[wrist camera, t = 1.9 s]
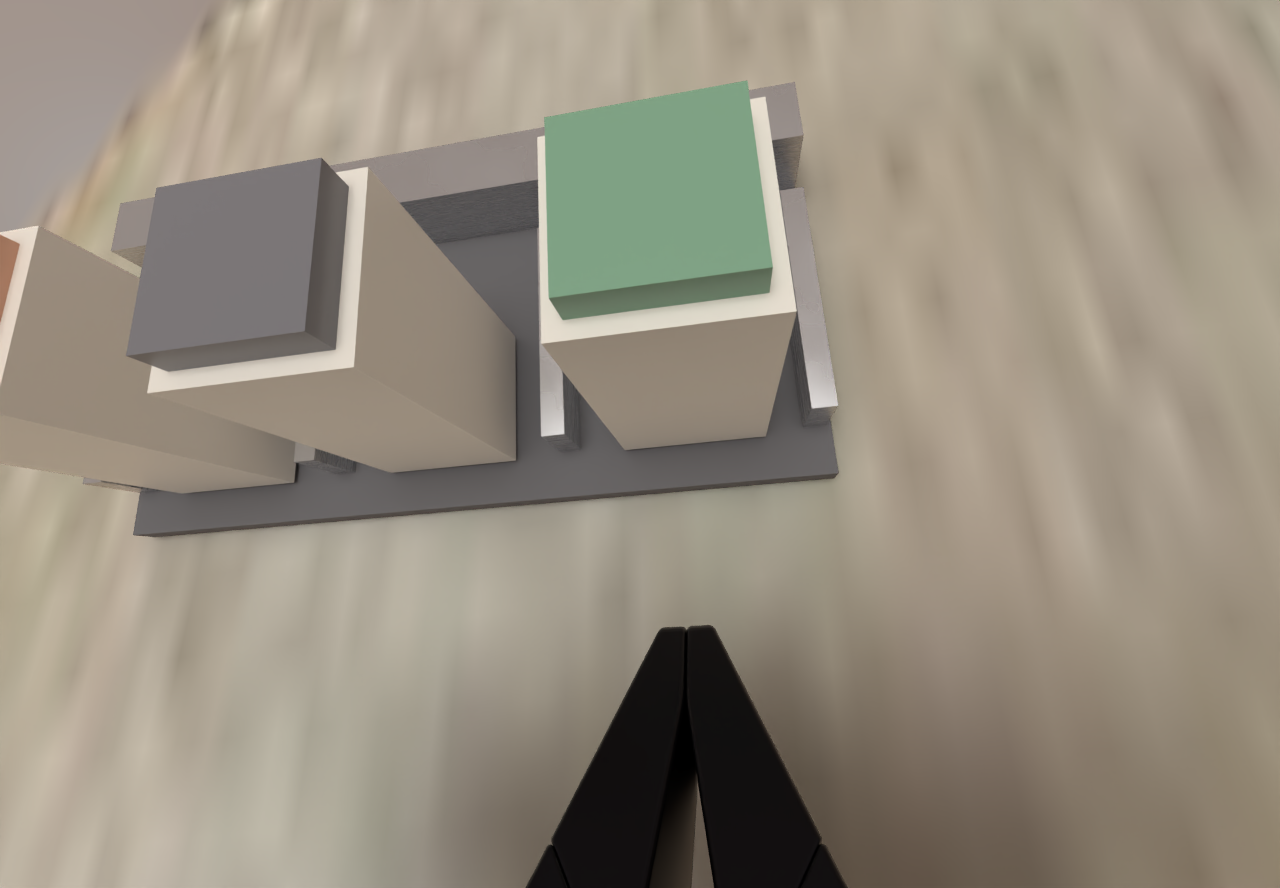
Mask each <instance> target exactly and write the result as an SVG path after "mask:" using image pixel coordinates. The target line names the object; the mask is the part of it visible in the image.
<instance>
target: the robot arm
mask: <svg viewBox="0 0 1280 888" xmlns="http://www.w3.org/2000/svg"><path fill="white" fill-rule="evenodd" d="M697 784H698V786H699V792H700V799H701V805H702V812H703V818H704V824H705V831H706V837H707V844H708V850H709V857H710V863H711V870H712V876H713V883H714V888H848V887H847V885H846V884H845V882H844V880H843V878H842V876H841V874H840V872H839V870H838V868H837V866H836V864H835V862H834V860H833V858H832V857H831V855H830V853H829V851H828V849H827V847H826V845H824V844H822V838H821V836H820V834H819V832H818V830H817V828H816V826H815V824H814V822H813V820H812V818H811V816H810V814H809V812H808V810H807V808H806V806H805V804H804V802H803V800H802V798H801V796H800V794H799V792H798V791H797V789H796V787H795V785H794V783H793V781H792V779H791V777H790V775H789V773H788V771H787V769H786V767H785V765H784V763H783V761H782V759H781V757H780V755H779V753H778V751H777V749H776V747H775V745H774V743H773V741H772V739H771V738H770V736H769V734H768V732H767V730H766V728H765V726H764V724H763V722H762V720H761V718H760V716H759V714H758V712H757V710H756V708H755V706H754V704H753V702H752V700H751V698H750V696H749V694H748V692H747V690H746V688H745V686H744V685H743V683H742V681H741V679H740V677H739V675H738V673H737V671H736V669H735V667H734V665H733V663H732V661H731V659H730V657H729V655H728V653H727V651H726V649H725V647H724V645H723V643H722V641H721V639H720V637H719V635H718V633H717V632H716V630H715V628H714V627H713V626H711V625H702V626H690V627H689V628H688V629H687V630H686V628H684V627H665V628H662V629H660V630H659V632H658V633H657V635H656V637H655V639H654V641H653V643H652V645H651V647H650V648H649V650H648V652H647V654H646V656H645V658H644V660H643V662H642V664H641V666H640V668H639V670H638V672H637V674H636V676H635V678H634V679H633V681H632V683H631V685H630V687H629V689H628V691H627V693H626V695H625V697H624V699H623V701H622V703H621V705H620V707H619V709H618V711H617V712H616V714H615V716H614V718H613V720H612V722H611V724H610V726H609V728H608V730H607V732H606V734H605V736H604V738H603V740H602V742H601V743H600V745H599V747H598V749H597V751H596V753H595V755H594V757H593V759H592V761H591V763H590V765H589V767H588V769H587V771H586V773H585V774H584V776H583V778H582V780H581V782H580V784H579V786H578V788H577V790H576V792H575V794H574V796H573V798H572V800H571V802H570V804H569V805H568V807H567V809H566V811H565V813H564V815H563V817H562V819H561V821H560V823H559V825H558V827H557V829H556V831H555V833H554V835H553V836H552V839H551V841H552V844H553V845H551V844H550V845H548V846H547V848H546V850H545V851H544V853H543V855H542V857H541V859H540V861H539V863H538V865H537V867H536V869H535V871H534V873H533V875H532V877H531V878H530V880H529V882H528V884H527V886H526V888H691V885H692V869H693V853H694V837H695V820H696V804H697Z"/></svg>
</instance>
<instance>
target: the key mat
mask: <svg viewBox="0 0 1280 888" xmlns="http://www.w3.org/2000/svg"><path fill="white" fill-rule="evenodd" d="M779 193H780V191H779ZM436 246H437V247H438V248H439V249H440V250H441V251H442V253H443V254H444V255H445V256H446V257H447V258H448V259H449V261H450V262H451V263H452V264H453V265H454V266H455V268H456V269H457V270H458V271H459V272H460V273H461V274H462V276H463V277H464V278H465V279H466V280H467V281H468V283H469V284H470V285H471V286H472V287H473V288H474V289H475V291H476V292H477V293H478V294H479V295H480V296H481V298H482V299H483V300H484V301H485V302H486V303H487V304H488V306H489V307H490V308H491V309H492V310H493V311H494V313H495V314H496V315H497V316H498V317H499V318H500V319H501V321H502V322H503V323H504V324H505V325H506V326H507V328H508V329H509V330H510V331H511V332H512V333H513V334H514V336H515V359H516V461H507V462H497V463H487V464H477V465H466V466H456V467H446V468H436V469H426V470H415V471H405V472H395V473H390V472H387V471H384V470H380V469H377V468H374V467H371V466H368V465H365V464H362V463H359V462H356V472H354V473H344V474H334V473H331V472H327V471H324V470H320V469H317V468H313V467H309V466H306V465H302V464H299V463H296V469H295V479H294V483H285V484H275V485H265V486H254V487H244V488H234V489H224V490H214V491H203V492H193V493H183V494H182V493H176V492H170V491H163V490H160V492H152V493H140V496H139V502H138V508H137V514H136V521H135V527H134V533H133V535H137V536H150V537H160V536H172V535H183V534H195V533H206V532H218V531H229V530H241V529H252V528H264V527H275V526H287V525H298V524H310V523H321V522H333V521H344V520H356V519H367V518H379V517H390V516H402V515H413V514H425V513H436V512H448V511H459V510H471V509H482V508H494V507H506V506H517V505H529V504H540V503H552V502H563V501H575V500H586V499H598V498H609V497H621V496H632V495H644V494H655V493H667V492H678V491H690V490H701V489H713V488H724V487H736V486H747V485H759V484H770V483H782V482H793V481H805V480H816V479H828V478H834V477H835V476H836V475H837V474H838V467H837V460H836V454H835V447H834V441H833V434H832V428H831V421H830V420H829V422H828V423H827V425H826V426H818V427H807V428H803V427H802V420H801V413H800V406H799V399H798V392H797V385H796V378H795V370H794V363H793V356H792V349H791V342H790V341H789V345H788V349H787V353H786V357H785V361H784V365H783V369H782V373H781V377H780V381H779V385H778V389H777V393H776V397H775V401H774V405H773V409H772V413H771V417H770V421H769V425H768V429H767V433H766V436H764V437H754V438H744V439H734V440H723V441H713V442H703V443H693V444H683V445H672V446H662V447H652V448H642V449H632V450H624V449H623V447H622V446H621V445H620V444H619V442H618V441H617V440H616V438H615V437H614V436H613V435H612V433H611V432H610V431H609V430H608V428H607V427H606V426H605V424H604V423H603V422H602V421H601V419H600V418H599V417H598V415H597V414H596V413H595V412H594V410H593V409H592V408H591V407H590V405H589V404H588V403H587V401H586V400H585V399H584V398H583V396H582V395H581V394H580V417H581V445H582V450H576V451H565V452H560V451H559V450H558V449H556V448H555V447H554V446H553V445H551V444H550V443H549V442H547V441H546V440H545V439H544V438H542V437H541V406H540V351H539V295H538V240H537V229H532V230H526V231H519V232H513V233H506V234H500V235H493V236H487V237H480V238H474V239H468V240H461V241H455V242H448V243H442V244H436Z"/></svg>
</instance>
